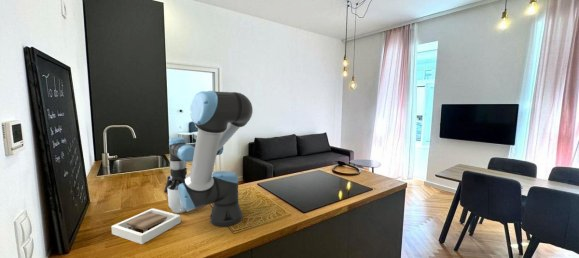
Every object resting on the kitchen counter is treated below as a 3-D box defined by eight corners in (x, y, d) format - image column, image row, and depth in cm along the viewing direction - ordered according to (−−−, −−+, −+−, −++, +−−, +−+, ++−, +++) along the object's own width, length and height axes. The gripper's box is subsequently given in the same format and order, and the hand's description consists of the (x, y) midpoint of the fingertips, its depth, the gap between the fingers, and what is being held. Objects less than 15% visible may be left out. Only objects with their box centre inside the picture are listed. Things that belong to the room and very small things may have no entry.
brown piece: (167, 224, 109) (166, 216, 108) (144, 236, 98) (144, 227, 98) (150, 219, 113) (150, 212, 112) (127, 231, 103) (126, 222, 102)
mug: (195, 214, 118) (194, 189, 117) (170, 220, 112) (169, 194, 111) (189, 204, 131) (188, 181, 129) (167, 209, 125) (166, 185, 123)
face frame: (180, 222, 111) (180, 215, 110) (141, 244, 93) (141, 236, 93) (152, 214, 118) (152, 208, 118) (111, 233, 101) (111, 226, 100)
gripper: (202, 168, 118) (203, 209, 121) (167, 163, 128) (169, 201, 130) (190, 172, 112) (192, 215, 114) (155, 166, 121) (157, 206, 123)
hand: (180, 208), depth 122 cm, fingers closed on mug, 12 cm apart
